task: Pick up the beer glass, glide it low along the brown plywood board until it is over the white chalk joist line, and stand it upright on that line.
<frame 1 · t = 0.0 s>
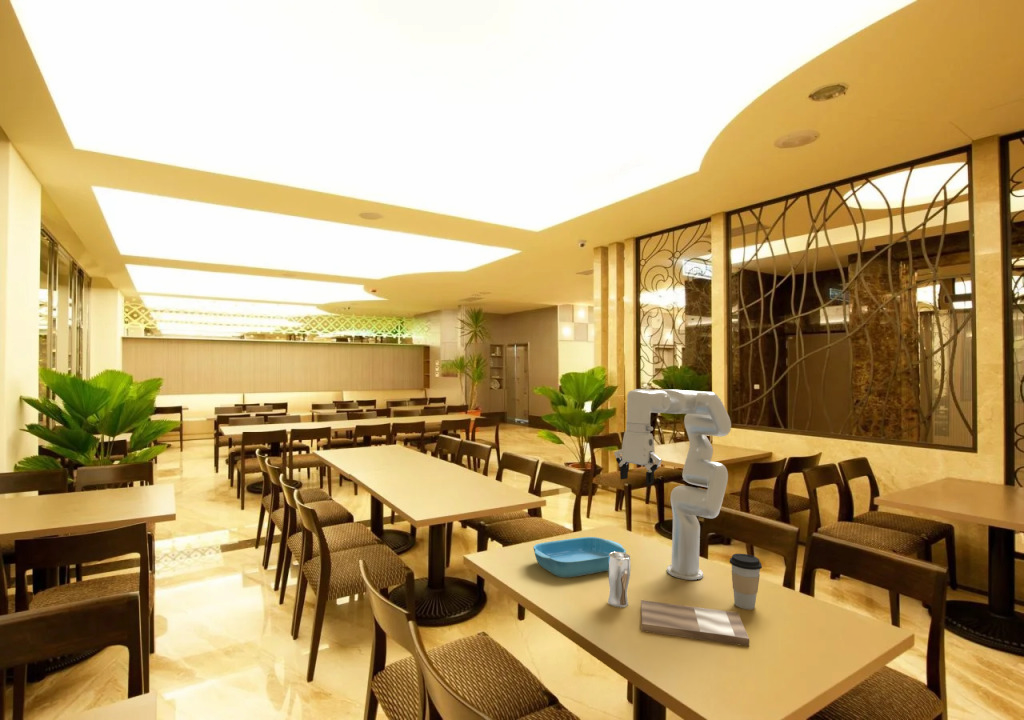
hand: (636, 481, 171), 37 cm above the table, tool pointing down, fingers open, 9 cm apart
beer glass: (617, 604, 165), on the table
subfloor board: (691, 624, 152), on the table
coffee cup: (744, 606, 167), on the table
casserole dish: (579, 567, 196), on the table
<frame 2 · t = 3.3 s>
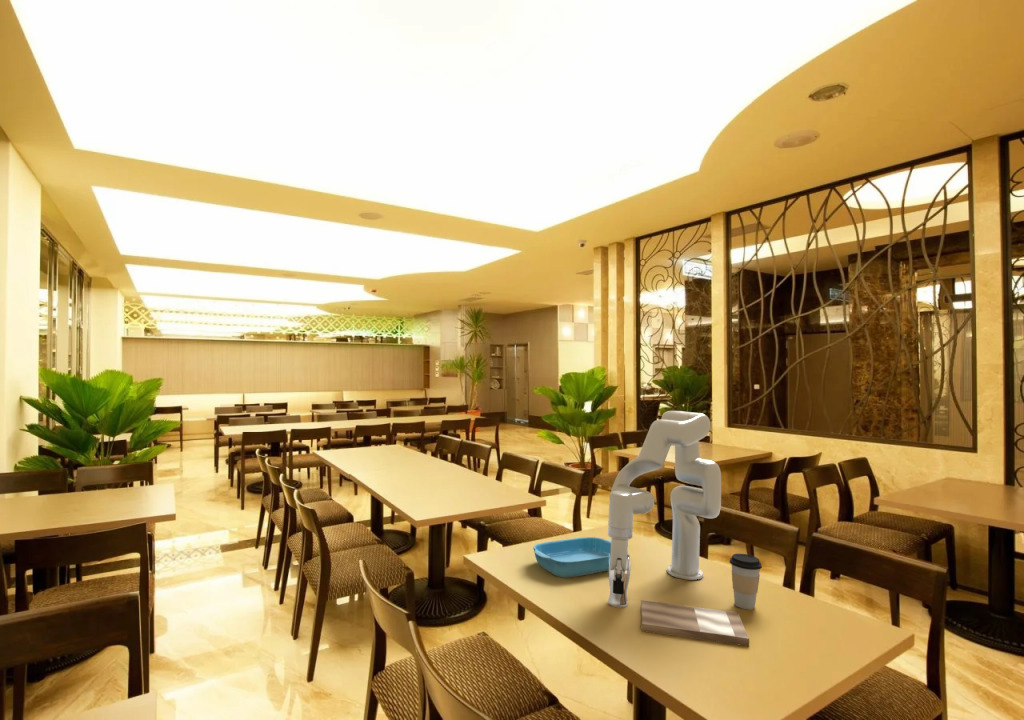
hand: (618, 588, 165), 5 cm above the table, tool pointing down, fingers closed on beer glass, 6 cm apart
beer glass: (617, 604, 165), on the table, touching gripper
everything else where it was.
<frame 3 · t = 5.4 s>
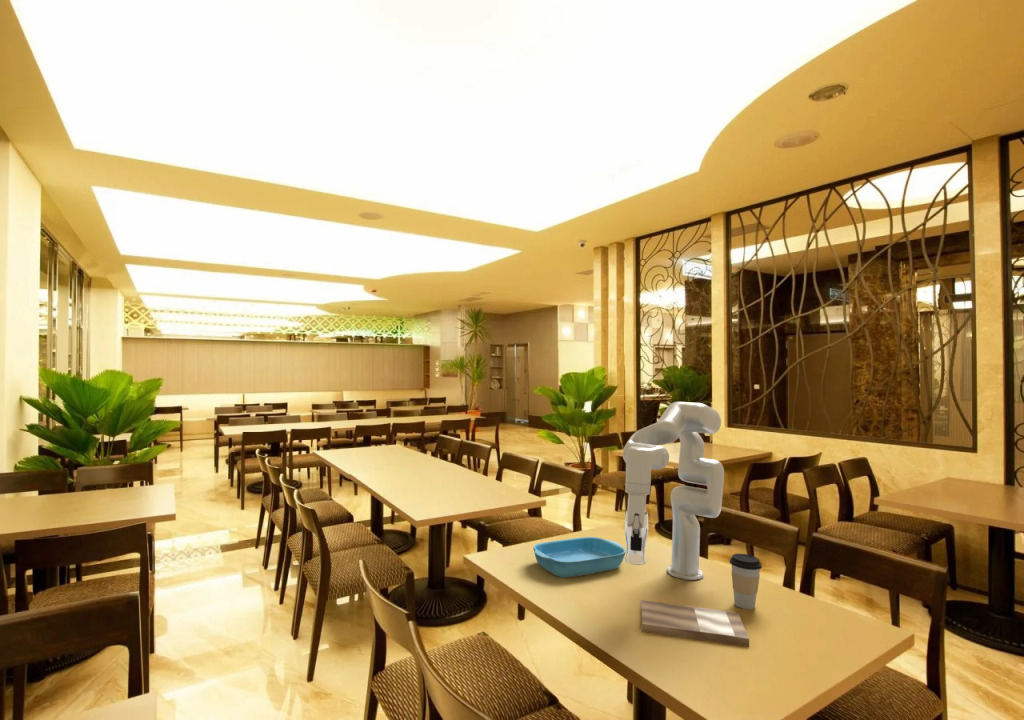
hand: (636, 546, 161), 20 cm above the table, tool pointing down, fingers closed on beer glass, 6 cm apart
beer glass: (635, 562, 161), point 15 cm above the table, touching gripper
everything else where it was.
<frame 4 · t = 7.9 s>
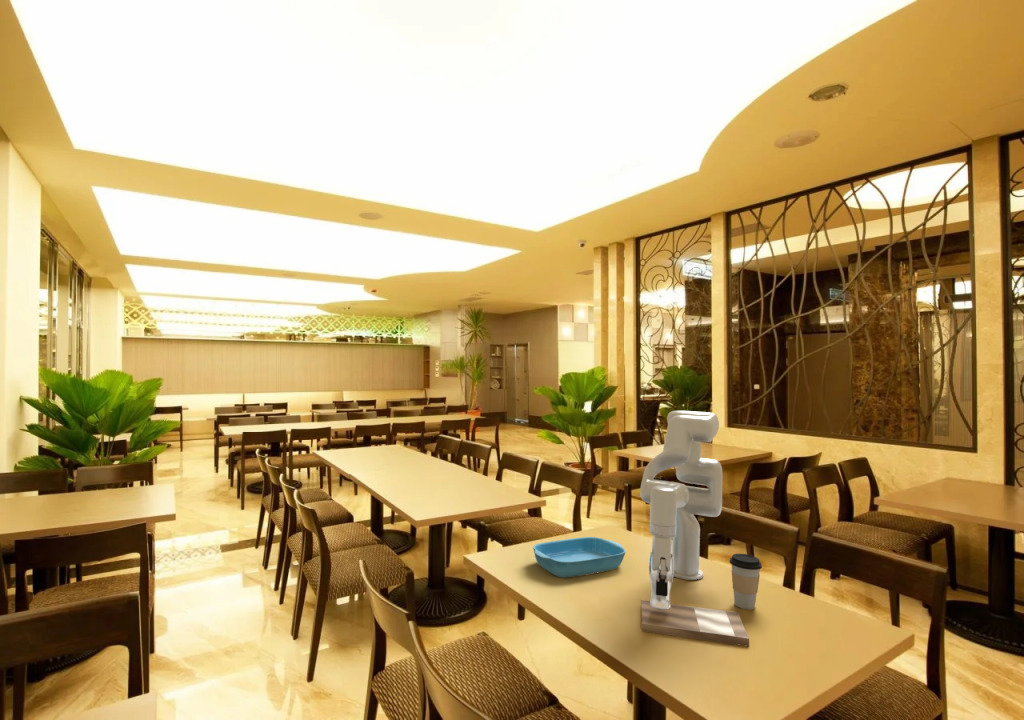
hand: (661, 589, 155), 9 cm above the table, tool pointing down, fingers closed on beer glass, 6 cm apart
beer glass: (660, 606, 155), point 4 cm above the table, touching gripper
everything else where it was.
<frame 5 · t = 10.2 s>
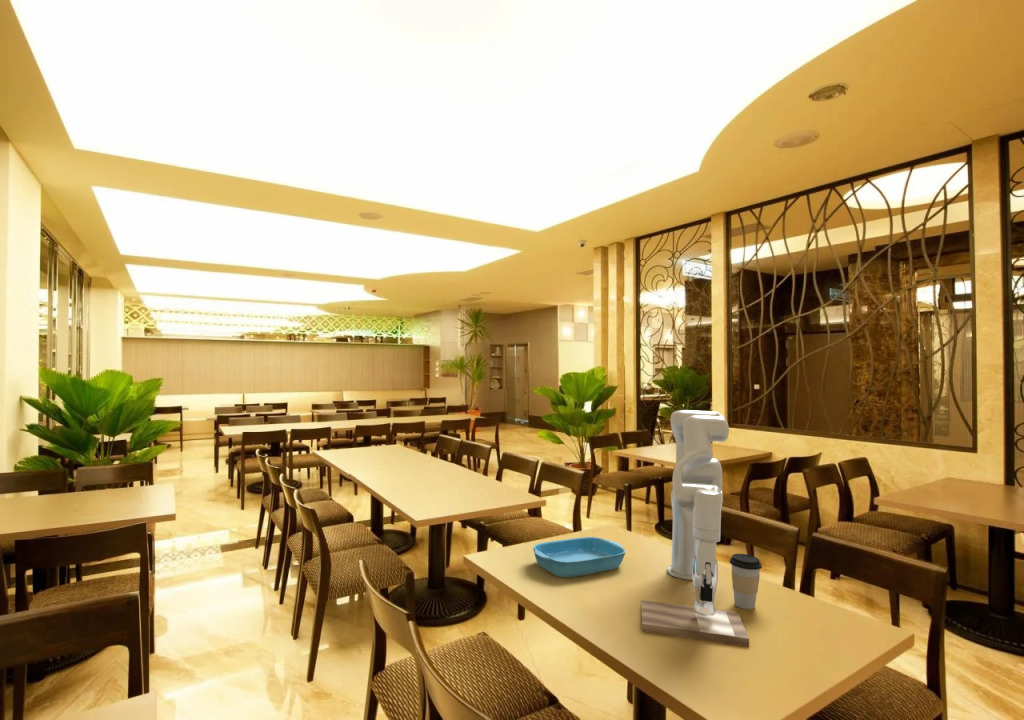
hand: (704, 595, 152), 9 cm above the table, tool pointing down, fingers closed on beer glass, 6 cm apart
beer glass: (703, 612, 152), point 4 cm above the table, touching gripper
everything else where it was.
when the fingers open (8 cm above the table, at t = 12.5 s): beer glass stays where it is, resting on subfloor board.
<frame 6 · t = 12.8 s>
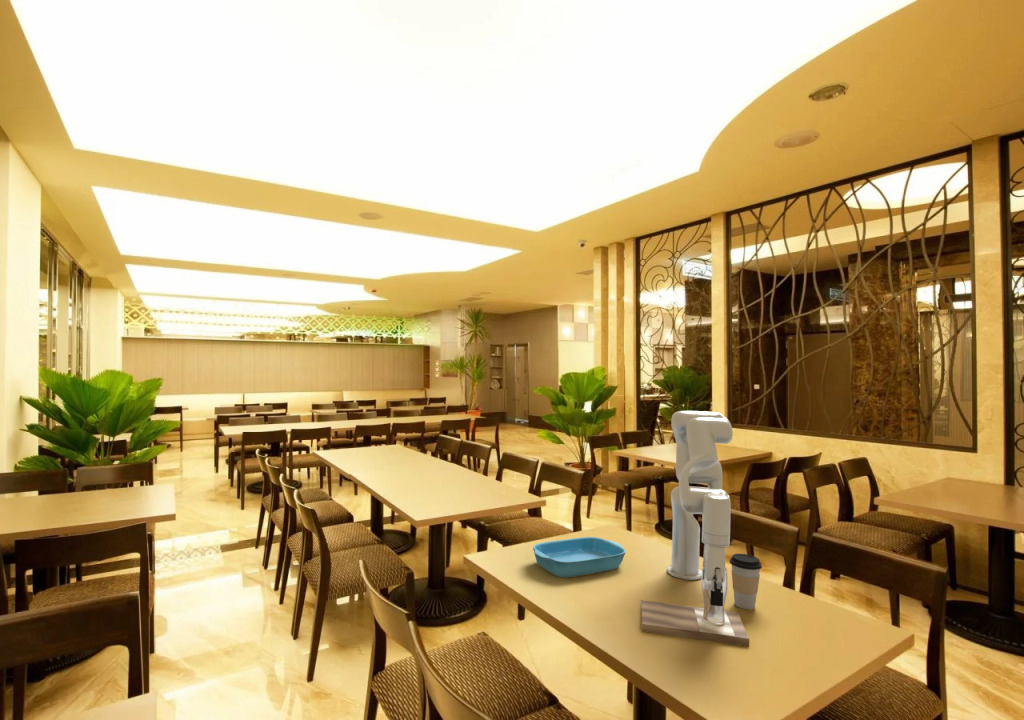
hand: (713, 598, 151), 8 cm above the table, tool pointing down, fingers open, 9 cm apart
beer glass: (713, 621, 151), point 2 cm above the table, touching subfloor board
everything else where it was.
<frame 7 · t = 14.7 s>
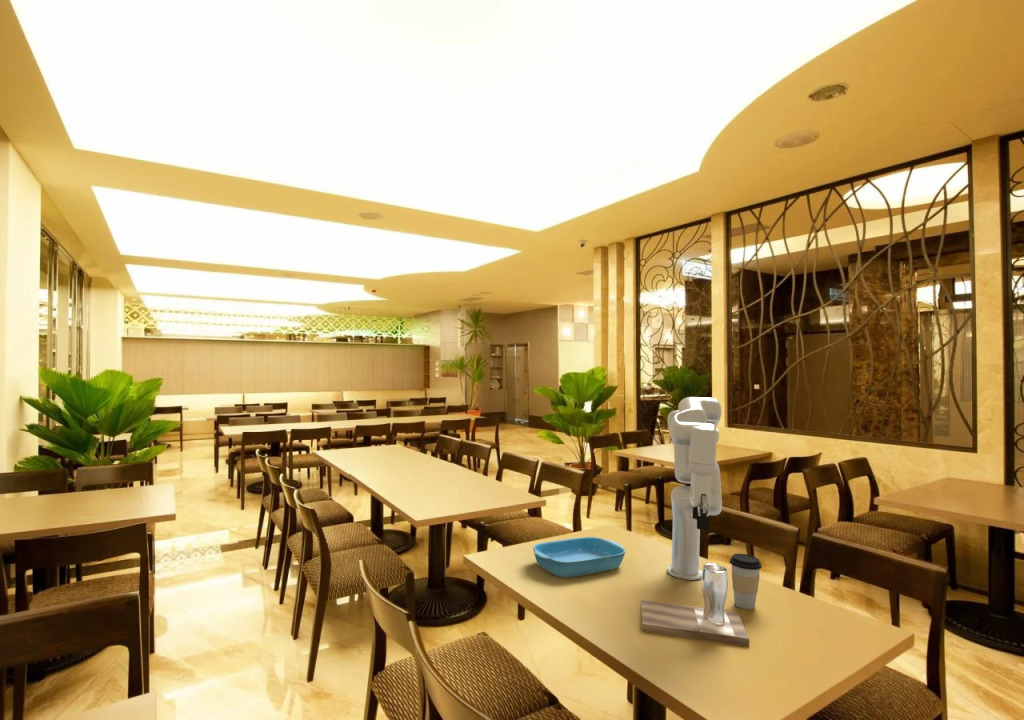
hand: (700, 523, 159), 27 cm above the table, tool pointing down, fingers open, 9 cm apart
nothing on the table moved.
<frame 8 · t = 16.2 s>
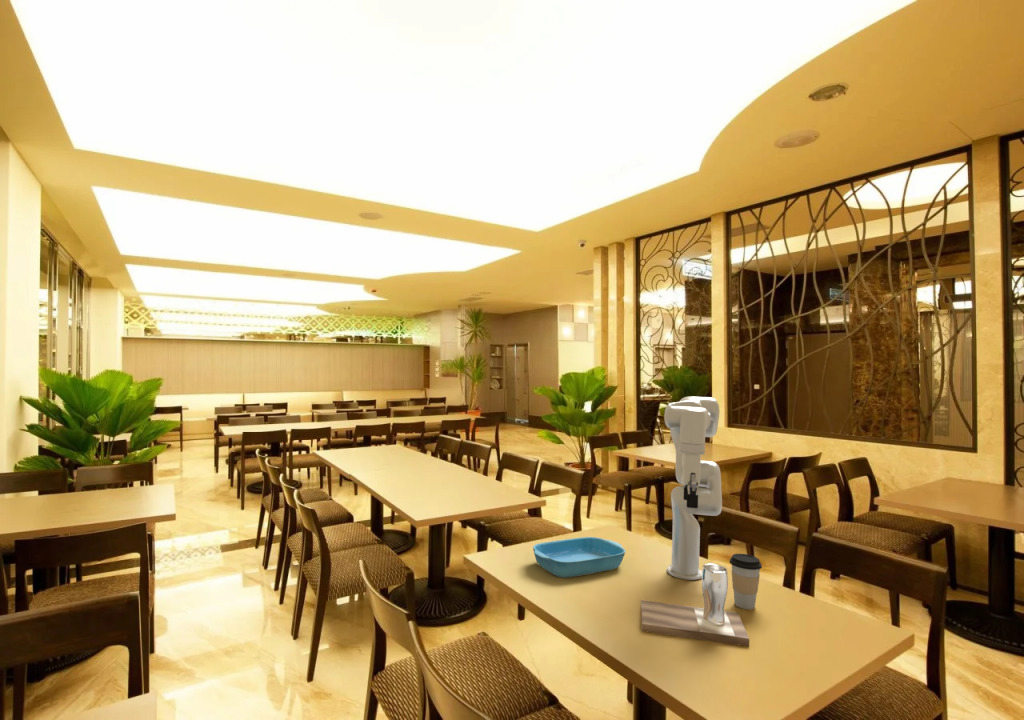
hand: (690, 503, 164), 32 cm above the table, tool pointing down, fingers open, 9 cm apart
nothing on the table moved.
at the end: beer glass inside the target area on the subfloor board (0.2 cm from its centre), point 1.9 cm above the subfloor board's base; beer glass tilted 0°; the gripper is holding nothing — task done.
